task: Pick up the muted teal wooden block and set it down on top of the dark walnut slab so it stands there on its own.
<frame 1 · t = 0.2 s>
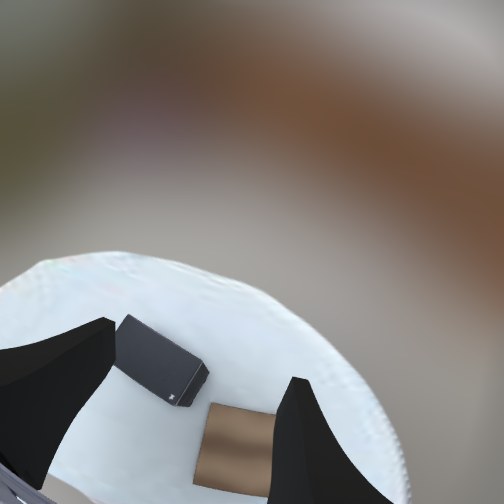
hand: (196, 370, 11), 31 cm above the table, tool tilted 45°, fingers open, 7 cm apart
walnut slab: (246, 451, 34), on the table
small box: (168, 369, 39), on the table
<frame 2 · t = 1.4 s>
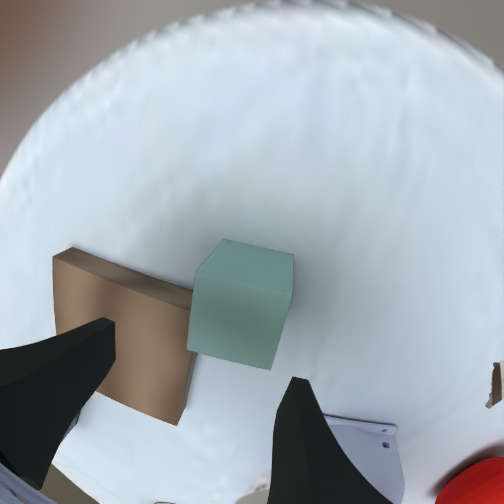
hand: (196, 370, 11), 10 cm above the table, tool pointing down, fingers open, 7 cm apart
walnut slab: (127, 335, 23), on the table
teal block: (251, 278, 20), on the table
tomato: (469, 471, 25), on the table
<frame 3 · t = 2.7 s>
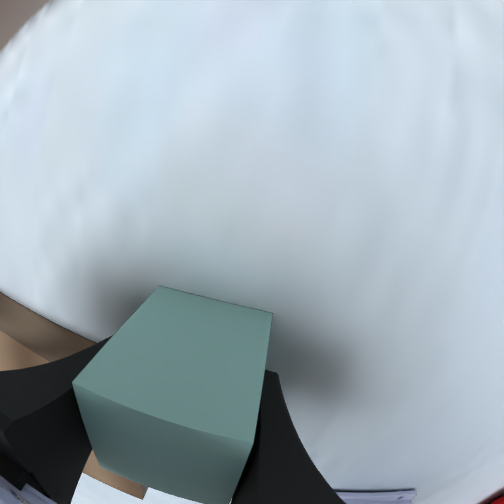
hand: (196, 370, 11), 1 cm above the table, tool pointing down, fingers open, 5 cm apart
walnut slab: (70, 397, 15), on the table
teal block: (207, 346, 12), on the table, touching gripper, walnut slab
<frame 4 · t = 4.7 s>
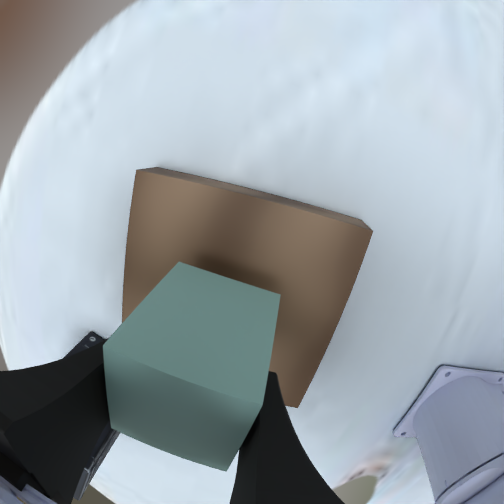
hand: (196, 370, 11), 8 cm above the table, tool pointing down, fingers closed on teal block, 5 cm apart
walnut slab: (233, 288, 18), on the table
teal block: (217, 320, 14), point 5 cm above the table, touching gripper
small box: (108, 382, 23), on the table
when the fingers open (5 cm above the table, at t = 5.6 s): teal block stays where it is, resting on walnut slab.
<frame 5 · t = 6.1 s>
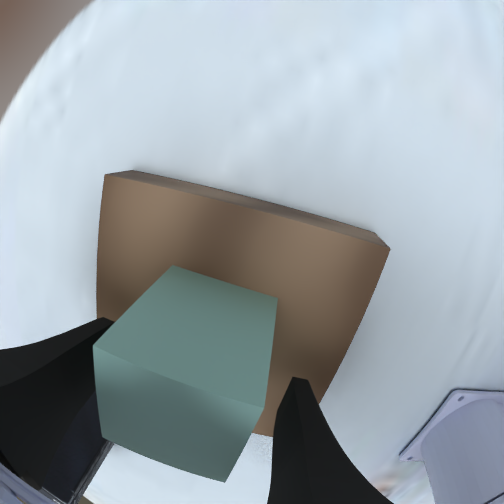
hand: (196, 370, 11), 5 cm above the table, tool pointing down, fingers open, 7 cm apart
walnut slab: (222, 311, 16), on the table
teal block: (212, 326, 13), point 2 cm above the table, touching walnut slab
small box: (93, 402, 20), on the table
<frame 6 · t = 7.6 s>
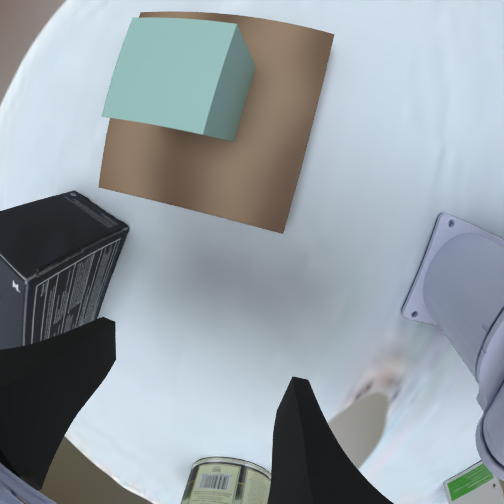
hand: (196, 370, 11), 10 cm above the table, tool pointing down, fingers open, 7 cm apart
walnut slab: (214, 111, 18), on the table
coffee can: (233, 476, 30), on the table
teal block: (205, 95, 15), point 2 cm above the table, touching walnut slab
small box: (82, 259, 23), on the table
skincare box: (467, 473, 27), on the table
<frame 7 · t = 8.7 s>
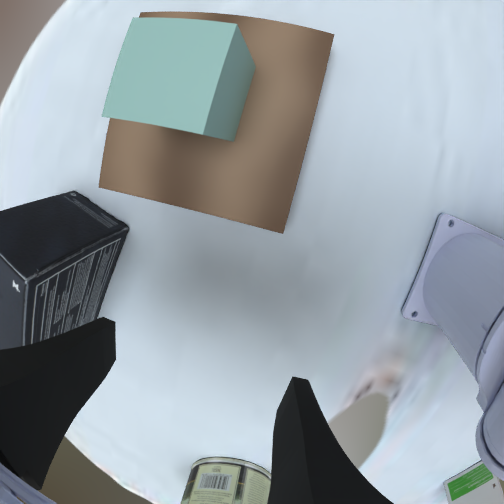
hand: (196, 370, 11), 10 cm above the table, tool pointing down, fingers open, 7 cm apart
walnut slab: (214, 111, 18), on the table
coffee can: (233, 476, 30), on the table
teal block: (205, 95, 15), point 2 cm above the table, touching walnut slab
small box: (82, 259, 23), on the table
skincare box: (467, 473, 27), on the table
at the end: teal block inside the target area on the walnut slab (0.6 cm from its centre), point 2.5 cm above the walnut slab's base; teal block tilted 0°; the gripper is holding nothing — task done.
